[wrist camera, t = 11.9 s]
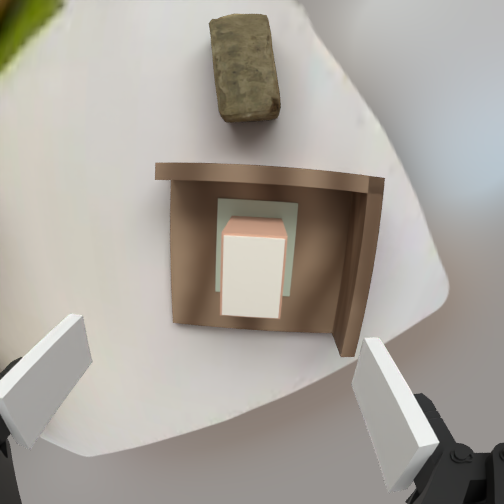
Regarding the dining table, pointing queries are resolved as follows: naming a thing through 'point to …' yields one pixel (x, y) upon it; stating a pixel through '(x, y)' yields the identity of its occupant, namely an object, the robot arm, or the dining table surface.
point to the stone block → (244, 68)
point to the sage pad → (258, 209)
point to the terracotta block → (252, 267)
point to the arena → (305, 251)
